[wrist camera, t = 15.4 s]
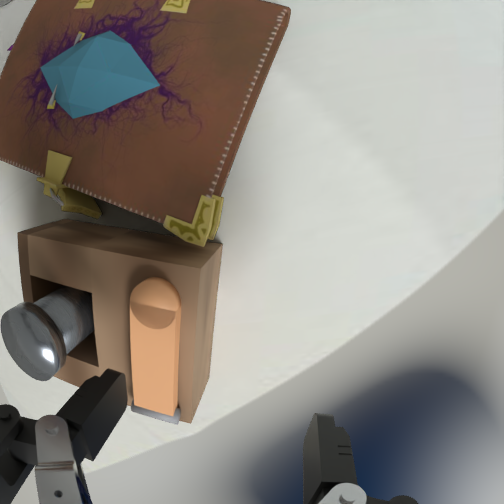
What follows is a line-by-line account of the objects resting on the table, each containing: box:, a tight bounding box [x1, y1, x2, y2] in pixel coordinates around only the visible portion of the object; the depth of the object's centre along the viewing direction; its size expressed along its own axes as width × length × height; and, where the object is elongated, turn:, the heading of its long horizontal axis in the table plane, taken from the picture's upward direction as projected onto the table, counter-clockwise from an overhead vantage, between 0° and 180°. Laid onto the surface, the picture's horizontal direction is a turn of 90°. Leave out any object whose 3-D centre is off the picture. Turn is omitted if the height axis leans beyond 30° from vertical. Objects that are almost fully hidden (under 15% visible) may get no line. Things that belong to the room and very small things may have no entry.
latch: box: [130, 277, 181, 424], centre depth 15 cm, size 3×9×1 cm, turn 172°
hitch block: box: [18, 219, 223, 423], centre depth 18 cm, size 12×10×5 cm
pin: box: [1, 285, 95, 381], centre depth 17 cm, size 4×4×9 cm
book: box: [0, 0, 291, 247], centre depth 16 cm, size 16×25×5 cm, turn 70°
